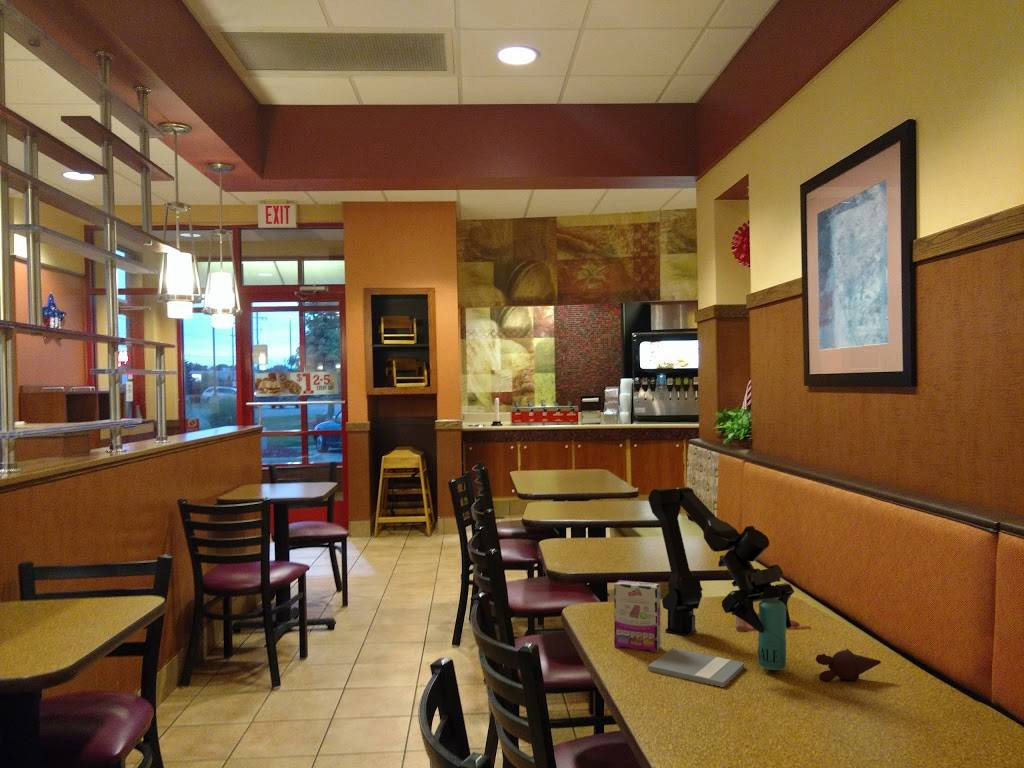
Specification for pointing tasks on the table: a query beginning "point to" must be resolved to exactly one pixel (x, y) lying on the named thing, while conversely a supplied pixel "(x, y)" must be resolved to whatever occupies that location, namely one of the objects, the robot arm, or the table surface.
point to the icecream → (845, 665)
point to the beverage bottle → (772, 630)
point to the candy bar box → (637, 616)
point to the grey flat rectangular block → (696, 667)
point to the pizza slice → (744, 626)
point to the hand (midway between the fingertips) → (776, 629)
